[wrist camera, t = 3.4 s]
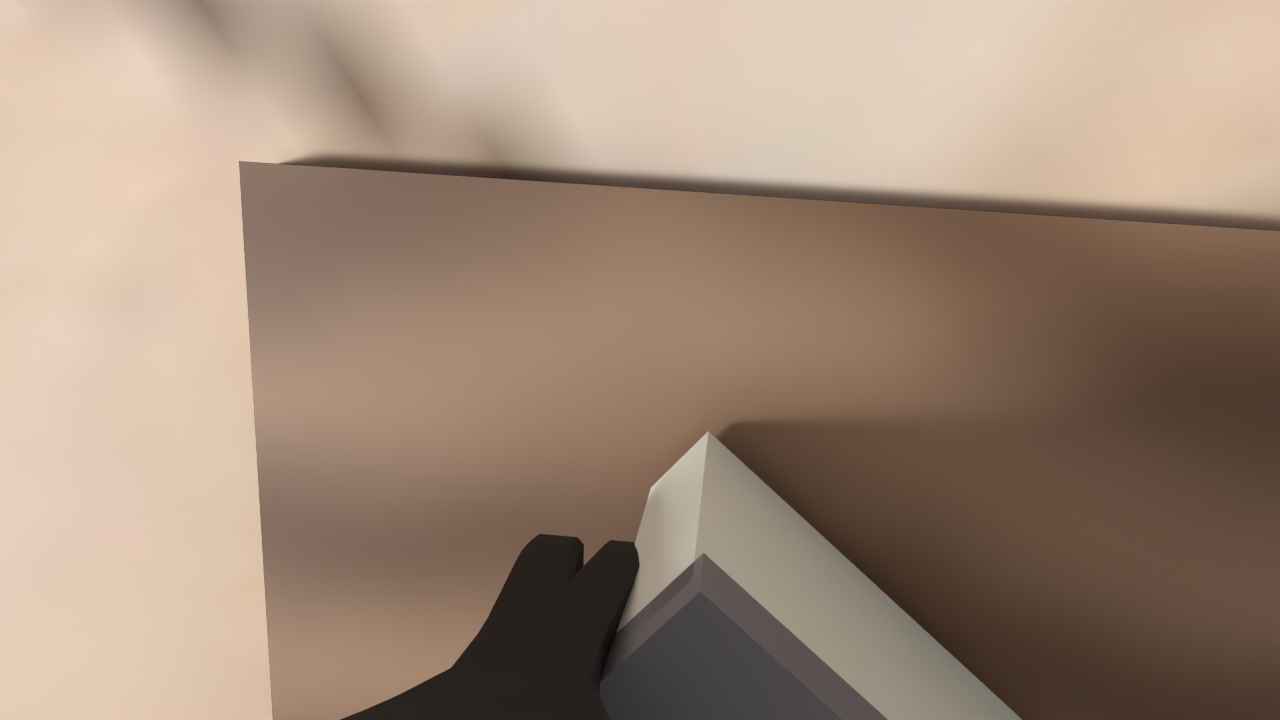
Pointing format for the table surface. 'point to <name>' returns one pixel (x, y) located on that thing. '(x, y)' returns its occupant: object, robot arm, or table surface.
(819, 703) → the panel
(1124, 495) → the brown wooden board
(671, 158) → the table surface
